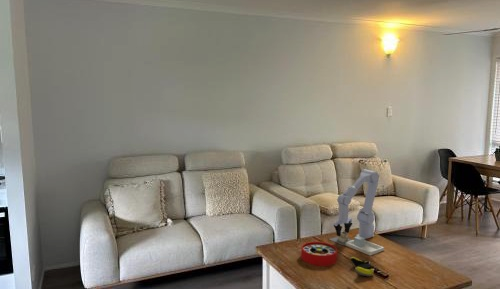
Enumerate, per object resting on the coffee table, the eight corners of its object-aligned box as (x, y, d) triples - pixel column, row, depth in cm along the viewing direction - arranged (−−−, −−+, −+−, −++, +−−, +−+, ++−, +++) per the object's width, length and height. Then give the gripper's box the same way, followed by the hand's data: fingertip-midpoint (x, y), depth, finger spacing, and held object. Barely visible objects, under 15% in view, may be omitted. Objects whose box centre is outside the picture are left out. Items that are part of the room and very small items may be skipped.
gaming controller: (355, 278, 189) (375, 279, 188) (356, 268, 188) (376, 268, 187) (349, 265, 203) (367, 266, 203) (349, 255, 203) (368, 256, 202)
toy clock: (320, 259, 198) (294, 246, 214) (319, 269, 198) (293, 256, 214) (344, 250, 210) (318, 239, 225) (344, 260, 210) (318, 248, 226)
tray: (345, 246, 229) (345, 242, 229) (359, 241, 237) (359, 237, 237) (370, 256, 215) (370, 252, 215) (383, 251, 222) (384, 247, 222)
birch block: (342, 238, 240) (342, 230, 239) (347, 240, 236) (348, 232, 236) (337, 239, 237) (337, 232, 237) (343, 242, 234) (343, 234, 233)
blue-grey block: (358, 243, 232) (358, 235, 232) (364, 246, 229) (364, 238, 228) (353, 245, 230) (354, 237, 229) (359, 247, 226) (360, 239, 225)
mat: (341, 236, 246) (341, 235, 246) (355, 242, 236) (356, 241, 236) (328, 240, 239) (328, 239, 239) (343, 246, 229) (343, 245, 229)
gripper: (340, 217, 228) (339, 238, 229) (356, 213, 236) (355, 234, 238) (331, 214, 233) (331, 235, 235) (347, 210, 242) (346, 230, 243)
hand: (342, 234), depth 237 cm, fingers open, 7 cm apart
